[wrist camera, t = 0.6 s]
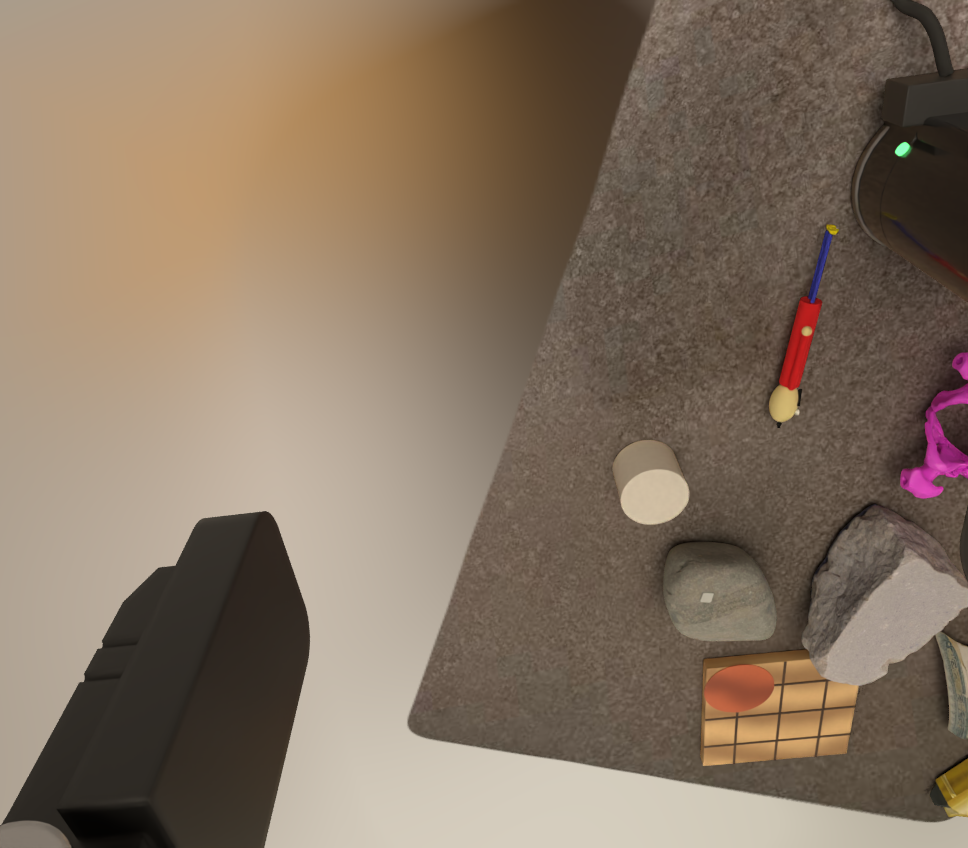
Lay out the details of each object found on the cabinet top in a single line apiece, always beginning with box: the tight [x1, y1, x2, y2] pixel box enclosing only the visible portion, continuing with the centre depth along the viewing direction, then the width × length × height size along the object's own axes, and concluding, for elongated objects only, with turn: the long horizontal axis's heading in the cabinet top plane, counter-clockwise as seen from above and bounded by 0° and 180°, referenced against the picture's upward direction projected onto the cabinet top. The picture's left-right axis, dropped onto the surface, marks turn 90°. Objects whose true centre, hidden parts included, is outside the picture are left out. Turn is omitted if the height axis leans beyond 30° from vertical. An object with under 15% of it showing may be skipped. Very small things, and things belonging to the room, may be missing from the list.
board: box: [700, 649, 859, 766], centre depth 74 cm, size 14×14×1 cm
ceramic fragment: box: [936, 632, 968, 739], centre depth 71 cm, size 14×5×4 cm, turn 19°
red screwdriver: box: [769, 225, 839, 428], centre depth 53 cm, size 3×2×15 cm
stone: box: [663, 542, 777, 641], centre depth 64 cm, size 9×9×10 cm
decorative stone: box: [802, 504, 968, 685], centre depth 63 cm, size 15×7×10 cm
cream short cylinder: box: [612, 440, 689, 524], centre depth 59 cm, size 5×5×4 cm
